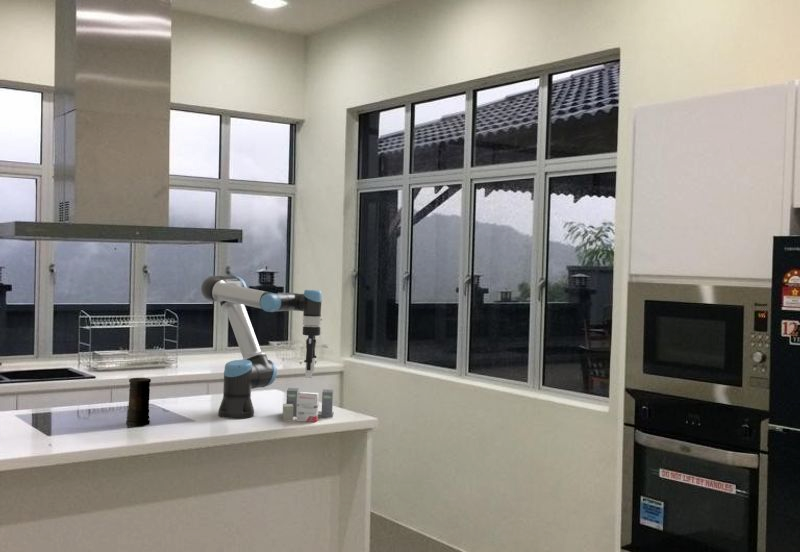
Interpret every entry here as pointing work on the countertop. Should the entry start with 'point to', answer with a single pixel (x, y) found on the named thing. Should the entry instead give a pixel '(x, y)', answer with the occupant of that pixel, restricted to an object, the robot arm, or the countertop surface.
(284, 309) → the robot arm
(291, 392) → the grey holder fixture
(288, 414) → the block
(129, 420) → the container
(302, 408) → the ink box
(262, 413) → the countertop surface
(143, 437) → the countertop surface
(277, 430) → the countertop surface
